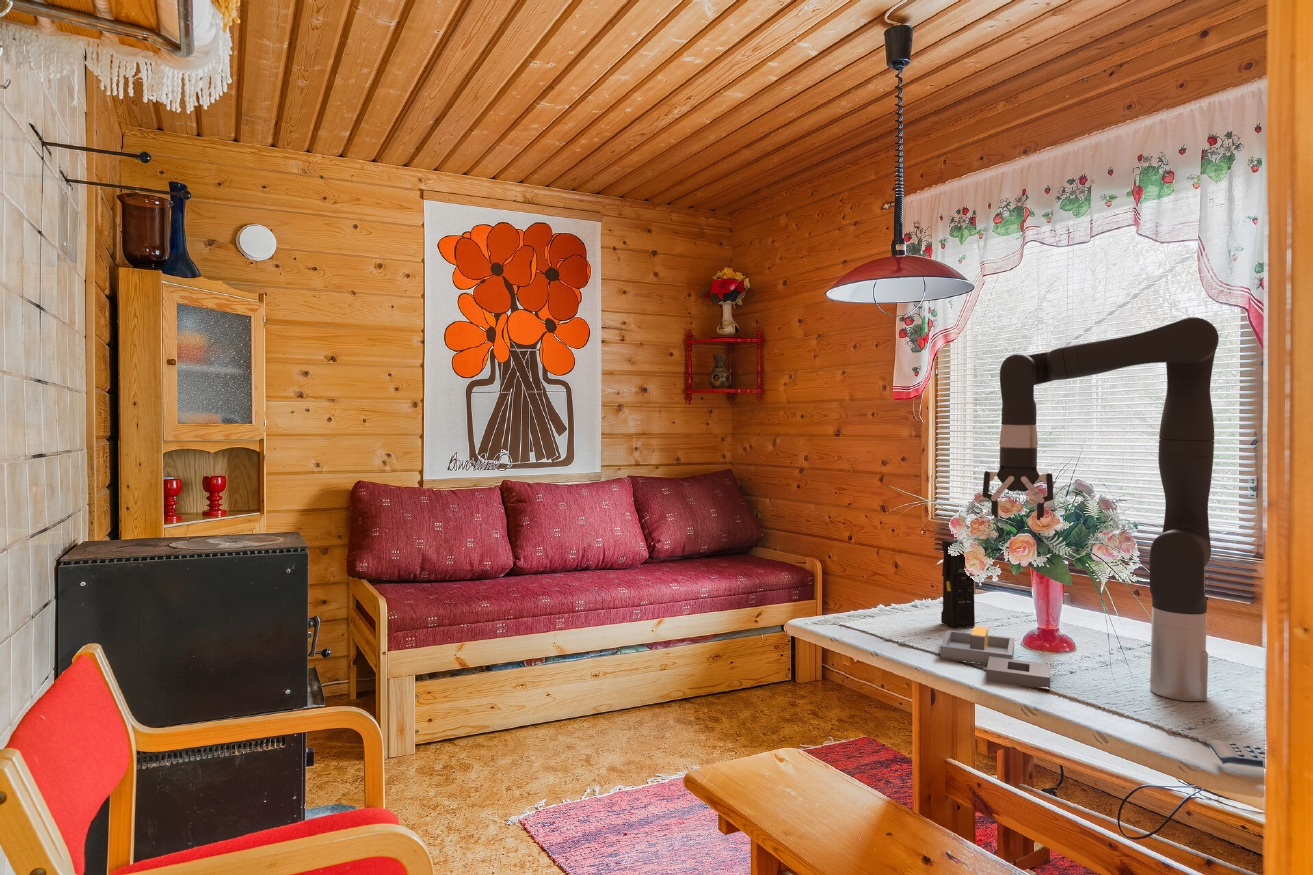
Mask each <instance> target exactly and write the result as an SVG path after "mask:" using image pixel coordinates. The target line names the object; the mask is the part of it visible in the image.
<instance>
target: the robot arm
mask: <svg viewBox="0 0 1313 875" xmlns="http://www.w3.org/2000/svg"><path fill="white" fill-rule="evenodd" d="M1219 337H1220V336H1219V334H1218V330H1217V328H1216V327H1215V326H1214V324H1212V323H1211V322H1210V321H1208V320H1206V319H1204V318H1200V317H1197V316H1196V317H1195V316H1194V317H1193V316H1192V317H1191V316H1189V317H1184V318H1180V319H1179V320H1175V321H1174V322H1171V323H1168V324H1165V325H1162V326H1160V327H1156V328H1153V329H1150V330H1146V331H1142V332H1140V333H1134V334H1131V335H1126V336H1120V337H1114V338H1107V339H1101V340H1095V341H1088V342H1083V343H1076V344H1072V345H1071V344H1070V345H1067V346H1061V347H1057V348H1053V349H1051V350H1050V351H1045V352H1038V353H1032V354H1021V353H1015V354H1011V355H1009V356H1008V357H1006V358H1005V359H1004V360H1003V362H1002V363H1001V365H1000V370H999V386H1000V387H999V388H1000V394H1001V403H1002V405H1001V406H1002V407H1001V426H1000V427H1001V428H1000V432H999V441H998V442H999V466H998V468H999V469H998V471H990V470H985V471H984V473H983V482H982V483H983V484H982V495H981V496H982V497H983V498H985V499H988V500H990V503H991V505H990V513H991V516H994V519H999V500H998V499H999V498H1000V497H1001V495H1002V494H1003V493H1004V492H1005V491H1006V490H1007V491H1008V492H1021V493H1023V492H1024V493H1025V492H1028V491H1029V492H1030V494H1032V496H1033V497H1034V498H1035V499H1036V501H1037V503H1036V521H1041V518H1042V519H1043V518H1044V517H1045V503H1047V502H1050V501H1053V500H1054V483H1053V482H1054V480H1053V473H1052V472H1047V473H1046V472H1045V473H1039V472H1038V431H1037V430H1038V429H1037V402H1036V400H1035V396H1034V395H1035V394H1034V393H1035V386H1038V385H1042V384H1046V383H1049V382H1054V381H1061V380H1062V381H1063V380H1064V381H1065V380H1070V379H1076V378H1082V377H1089V376H1094V375H1099V374H1103V373H1104V374H1105V373H1107V372H1111V371H1112V372H1113V371H1114V370H1120V369H1124V368H1128V367H1133V366H1140V365H1147V364H1160V363H1161V364H1163V363H1165V366H1166V367H1165V368H1166V384H1167V386H1166V396H1165V400H1164V403H1163V409H1162V414H1161V420H1160V426H1159V432H1158V434H1159V435H1158V436H1159V437H1158V453H1157V454H1158V460H1157V461H1158V469H1159V474H1160V476H1159V477H1160V480H1161V485H1162V487H1163V488H1162V489H1163V493H1164V500H1165V503H1164V504H1165V506H1164V507H1165V509H1164V510H1165V512H1164V520H1163V527H1162V532H1161V533H1160V534H1159V535H1158V536H1156V538H1155V539H1154V540H1153V541H1152V543H1151V546H1150V550H1149V592H1150V596H1151V629H1150V630H1151V632H1150V633H1151V635H1150V637H1151V638H1150V671H1149V673H1150V675H1149V676H1150V678H1149V683H1150V684H1149V686H1150V687H1149V689H1150V691H1151V692H1152V693H1154V694H1155V695H1158V696H1161V697H1163V698H1166V699H1167V698H1168V699H1171V700H1176V701H1182V702H1198V701H1199V702H1208V682H1209V681H1208V680H1209V678H1208V674H1209V673H1208V671H1209V654H1208V652H1207V621H1208V620H1207V616H1208V612H1207V611H1208V600H1207V597H1206V594H1205V568H1206V566H1207V565H1208V564H1209V562H1210V560H1211V555H1212V547H1211V546H1212V544H1211V538H1210V536H1211V534H1210V524H1209V498H1210V490H1211V485H1212V476H1213V464H1214V457H1215V456H1214V454H1215V453H1214V452H1215V424H1214V413H1213V404H1212V398H1211V382H1212V375H1213V374H1212V373H1213V367H1214V362H1215V356H1216V353H1217V349H1218V345H1219V342H1220V341H1219V340H1220V339H1219ZM995 477H997V479H998V481H999V482H1000V483H1001V485H1000V486H999V487H998V488H997V490H996V491H994V492H993V493H991V492H990V484H991V482H992V481H994V479H995ZM1039 479H1040V480H1042V482H1043V483H1044V484H1046V495H1042V494H1041V492H1040V491H1039V490H1038V489H1037V487H1036V486H1035V484H1036V482H1038V480H1039Z"/></svg>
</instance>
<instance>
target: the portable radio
mask: <svg viewBox="0 0 1313 875" xmlns="http://www.w3.org/2000/svg"><path fill="white" fill-rule="evenodd" d="M958 540H959V539H945V540H944V539H943V540H942V543H941V550H942V552H943V555H942V556H943V558H942V571H941V572H942V573H941V576H942V578H943V579H942V583H943V584H942V610H941V613H940V615H941V617H940V618H941V620H940V621H941V623H942V624H943V625H945V626H946V627H950V628H951V629H961V628H962V629H963V628H974V626H975V625H976V620H975V619H976V618H975V579H974V580H973V579H972V578H970V576H968V575H967V574H966V572H965V570H964V566H965V557H964V555H963V554H960V555H957V556H951V554H948V547H950V545H952V544H953V543H957V542H958Z"/></svg>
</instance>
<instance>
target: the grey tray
mask: <svg viewBox="0 0 1313 875" xmlns="http://www.w3.org/2000/svg"><path fill="white" fill-rule="evenodd" d="M971 633H972V632H965V631H958V630H957V631H956V630H946V632H945V634H944V637H943V640H942V642H941V644H940V646H939V649H940V650H939V651H940V652H939V656H940V657H939V659H940V660H943V661H944V660H945V661H953V662H959V661H966V662H975V663H980V664H979V665H981V664H984V666H987V665H988V661H989V656H991V657H998V658H1006V659H1014V653H1015V637H1011V636H1010V637H1008V636H1003V635H1002V636H1001V635H992V634H988V647H987V650H986V651H985V650H977V649H970V635H971ZM966 662H965V663H966Z"/></svg>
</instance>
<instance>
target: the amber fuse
mask: <svg viewBox="0 0 1313 875" xmlns="http://www.w3.org/2000/svg"><path fill="white" fill-rule="evenodd" d="M972 628H973V629H972V632H970V633H971V635H970V649H977V650H985V651H986V650H987V647H988V635H989V634H988V633H989V627H983V626H977V625H976V626H974V627H972Z"/></svg>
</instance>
